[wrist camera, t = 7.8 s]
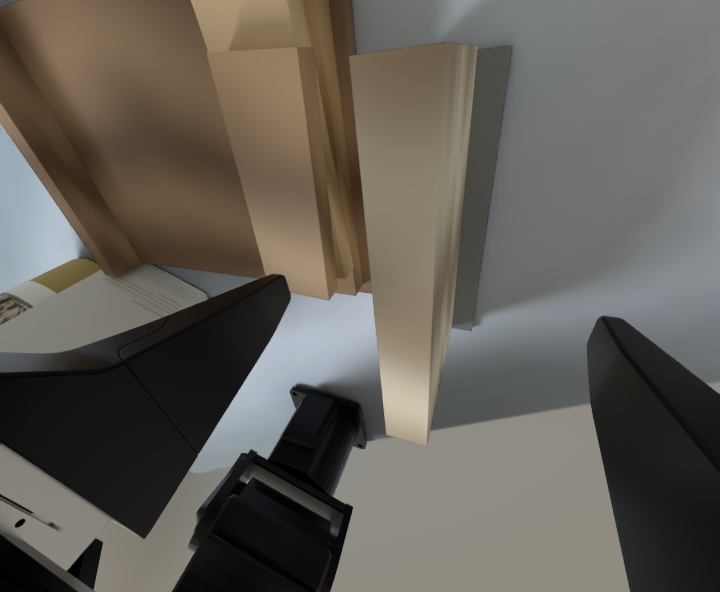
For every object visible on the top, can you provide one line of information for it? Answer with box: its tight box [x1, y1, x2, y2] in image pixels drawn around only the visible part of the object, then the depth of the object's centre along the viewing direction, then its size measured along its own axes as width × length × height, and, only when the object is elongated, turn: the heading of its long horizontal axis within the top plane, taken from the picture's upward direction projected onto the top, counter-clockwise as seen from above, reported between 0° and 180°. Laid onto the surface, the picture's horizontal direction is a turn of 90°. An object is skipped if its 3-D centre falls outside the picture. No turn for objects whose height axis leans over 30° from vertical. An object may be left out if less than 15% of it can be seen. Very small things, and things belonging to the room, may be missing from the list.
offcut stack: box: [191, 0, 363, 300], centre depth 13 cm, size 13×4×3 cm, turn 7°
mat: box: [452, 45, 513, 331], centre depth 14 cm, size 12×4×1 cm, turn 7°
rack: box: [0, 0, 372, 294], centre depth 16 cm, size 14×19×3 cm
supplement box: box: [0, 262, 208, 353], centre depth 22 cm, size 7×7×13 cm
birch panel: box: [349, 42, 478, 446], centre depth 11 cm, size 12×2×7 cm, turn 7°
